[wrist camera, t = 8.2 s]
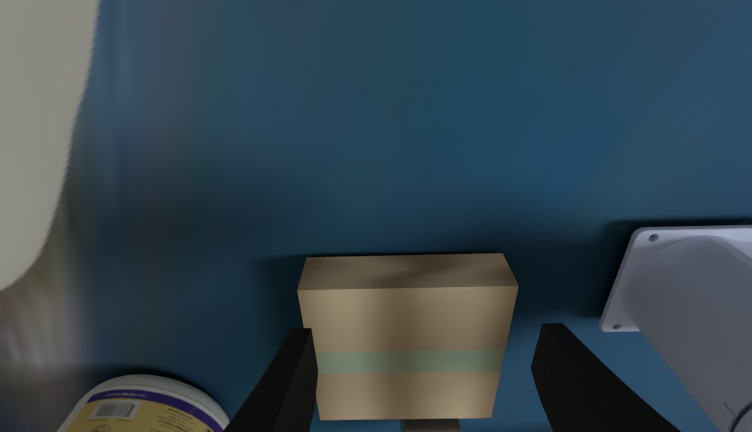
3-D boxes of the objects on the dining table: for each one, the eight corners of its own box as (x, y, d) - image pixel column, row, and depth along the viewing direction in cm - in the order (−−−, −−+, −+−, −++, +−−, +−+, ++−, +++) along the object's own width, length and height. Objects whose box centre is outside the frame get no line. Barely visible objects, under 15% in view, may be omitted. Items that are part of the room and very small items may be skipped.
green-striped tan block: (502, 253, 23) (518, 285, 20) (480, 380, 29) (490, 418, 26) (306, 257, 23) (297, 290, 20) (325, 382, 29) (320, 420, 26)
